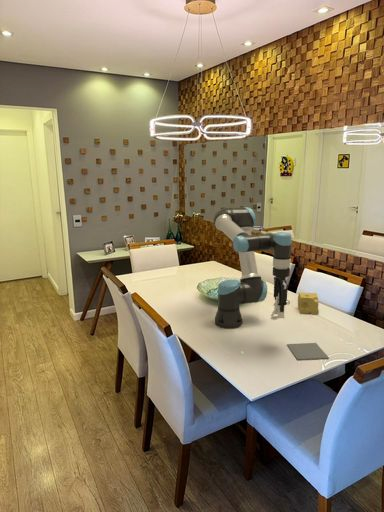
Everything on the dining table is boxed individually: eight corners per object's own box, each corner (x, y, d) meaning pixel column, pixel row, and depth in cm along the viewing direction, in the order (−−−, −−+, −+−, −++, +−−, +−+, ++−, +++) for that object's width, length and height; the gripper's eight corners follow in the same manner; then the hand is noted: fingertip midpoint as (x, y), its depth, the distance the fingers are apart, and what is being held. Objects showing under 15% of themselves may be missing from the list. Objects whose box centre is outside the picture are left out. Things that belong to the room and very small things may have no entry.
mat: (297, 360, 152) (297, 359, 152) (286, 345, 166) (286, 344, 166) (328, 358, 153) (329, 357, 153) (315, 344, 167) (315, 342, 167)
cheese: (318, 315, 201) (319, 298, 199) (298, 313, 204) (299, 297, 201) (315, 308, 211) (316, 292, 209) (297, 307, 213) (298, 291, 211)
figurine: (267, 317, 163) (269, 293, 160) (282, 313, 168) (283, 289, 165) (275, 321, 160) (277, 296, 156) (289, 316, 164) (291, 292, 161)
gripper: (296, 272, 150) (293, 323, 155) (283, 262, 167) (281, 308, 172) (279, 272, 150) (276, 323, 155) (267, 262, 166) (266, 309, 172)
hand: (279, 315), depth 164 cm, fingers closed on figurine, 4 cm apart
